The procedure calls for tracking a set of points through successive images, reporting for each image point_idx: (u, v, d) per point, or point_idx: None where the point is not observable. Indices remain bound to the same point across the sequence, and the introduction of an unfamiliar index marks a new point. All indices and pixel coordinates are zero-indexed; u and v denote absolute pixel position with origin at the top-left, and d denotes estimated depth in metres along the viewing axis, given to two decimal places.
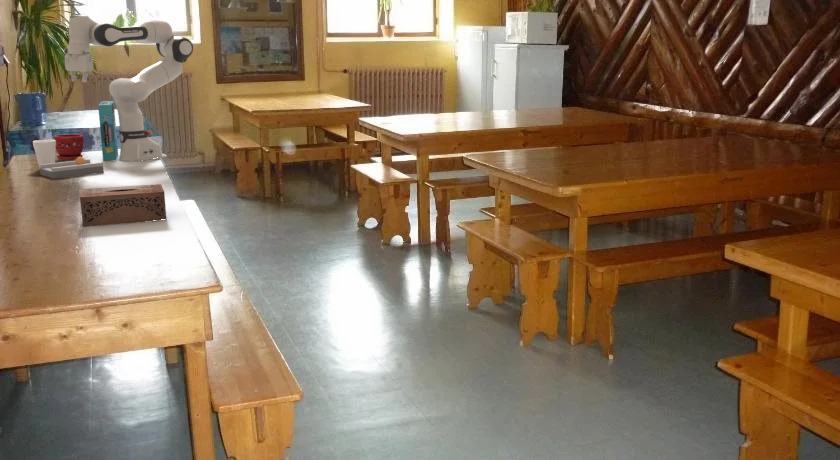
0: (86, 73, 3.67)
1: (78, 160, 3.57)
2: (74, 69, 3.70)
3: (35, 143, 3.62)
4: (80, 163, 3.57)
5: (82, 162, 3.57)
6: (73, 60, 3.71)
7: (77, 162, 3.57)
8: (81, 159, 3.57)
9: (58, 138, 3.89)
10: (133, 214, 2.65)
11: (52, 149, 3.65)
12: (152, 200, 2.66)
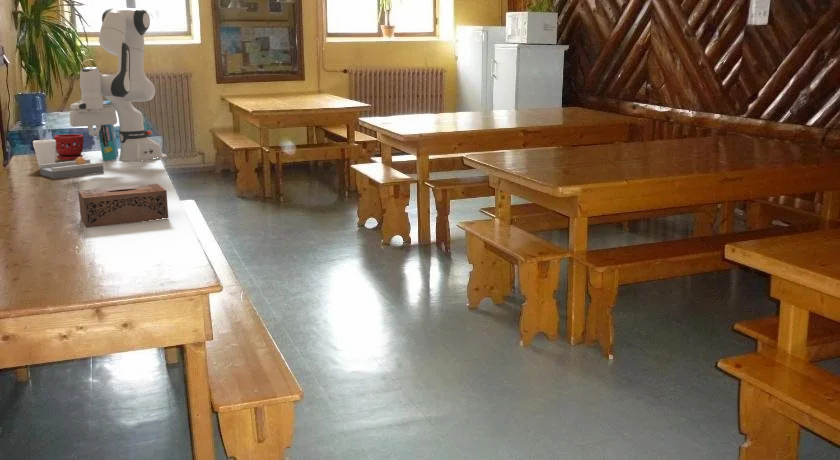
0: None
1: (78, 160, 3.57)
2: (93, 124, 3.58)
3: (35, 143, 3.62)
4: (80, 163, 3.57)
5: (82, 162, 3.57)
6: (89, 115, 3.56)
7: (77, 162, 3.57)
8: (81, 159, 3.57)
9: (58, 138, 3.89)
10: (136, 214, 2.65)
11: (52, 149, 3.65)
12: (155, 199, 2.67)
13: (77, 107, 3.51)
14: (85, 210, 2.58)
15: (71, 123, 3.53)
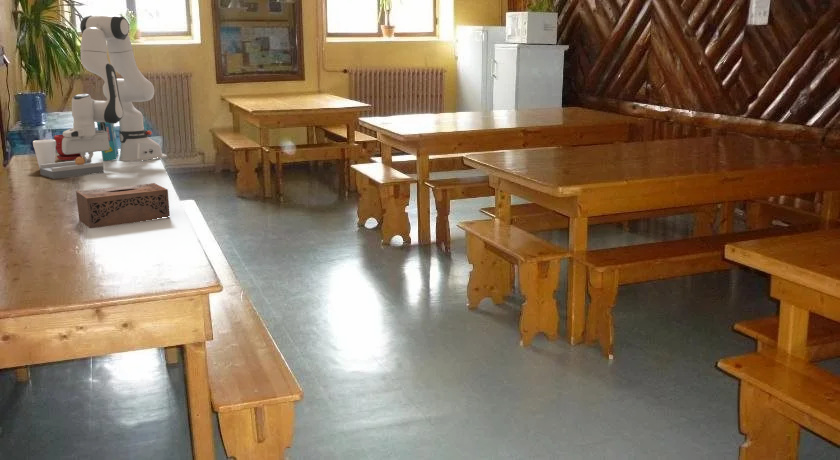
0: None
1: (78, 160, 3.56)
2: (86, 151, 3.58)
3: (35, 143, 3.62)
4: (80, 163, 3.57)
5: (82, 162, 3.57)
6: (81, 142, 3.56)
7: (77, 162, 3.57)
8: (80, 159, 3.57)
9: (58, 138, 3.89)
10: (138, 213, 2.66)
11: (52, 149, 3.65)
12: (156, 198, 2.69)
13: (69, 135, 3.50)
14: (89, 211, 2.57)
15: (63, 151, 3.52)
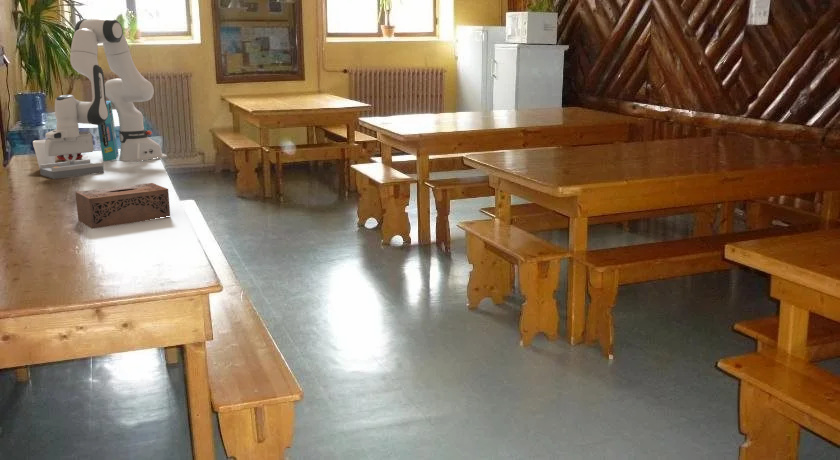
0: None
1: None
2: (69, 152, 3.53)
3: (35, 143, 3.62)
4: None
5: None
6: (65, 143, 3.51)
7: None
8: None
9: None
10: (140, 213, 2.67)
11: None
12: (157, 197, 2.69)
13: (52, 136, 3.45)
14: (91, 211, 2.56)
15: (46, 152, 3.47)
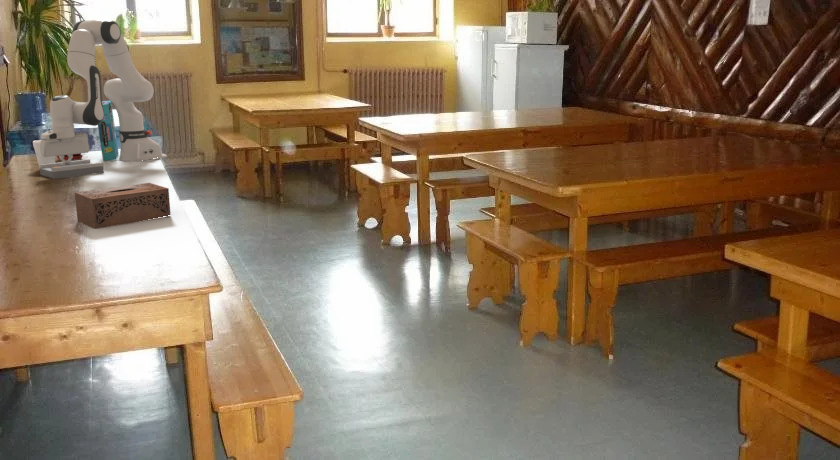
0: None
1: None
2: (65, 153, 3.51)
3: (35, 143, 3.62)
4: None
5: None
6: (60, 144, 3.50)
7: None
8: None
9: None
10: (141, 213, 2.67)
11: None
12: (158, 197, 2.70)
13: (47, 137, 3.44)
14: (94, 211, 2.56)
15: (42, 153, 3.46)
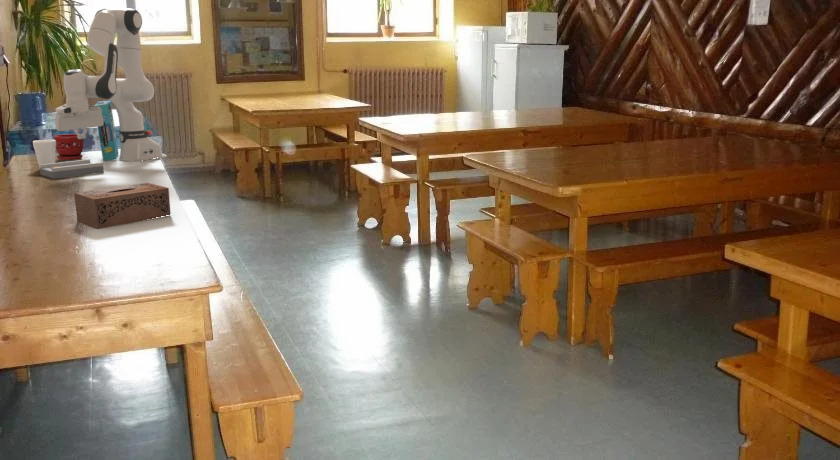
0: None
1: None
2: (80, 127, 3.54)
3: (35, 143, 3.62)
4: None
5: None
6: (75, 118, 3.52)
7: None
8: None
9: (58, 138, 3.89)
10: (142, 212, 2.67)
11: (52, 149, 3.65)
12: (158, 197, 2.71)
13: (62, 111, 3.47)
14: (96, 211, 2.56)
15: (57, 127, 3.49)
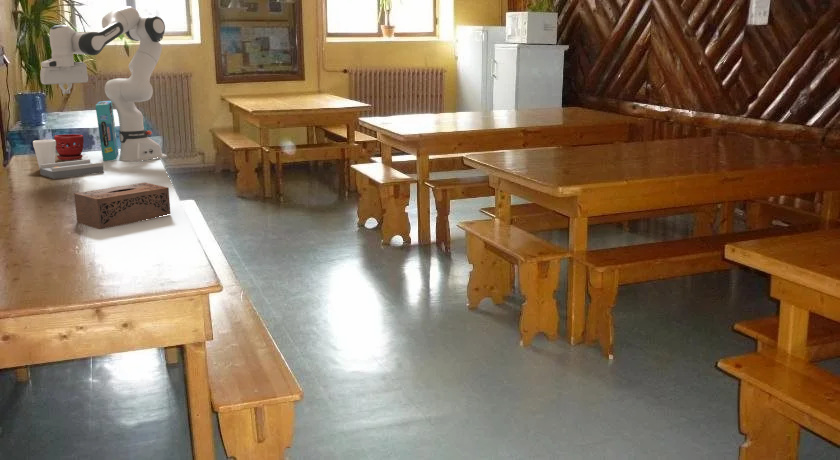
0: None
1: None
2: (64, 81, 3.61)
3: (35, 143, 3.62)
4: None
5: None
6: (60, 72, 3.59)
7: None
8: None
9: (58, 138, 3.89)
10: (143, 212, 2.68)
11: (52, 149, 3.65)
12: (159, 196, 2.72)
13: (47, 65, 3.53)
14: (98, 211, 2.56)
15: (42, 81, 3.55)
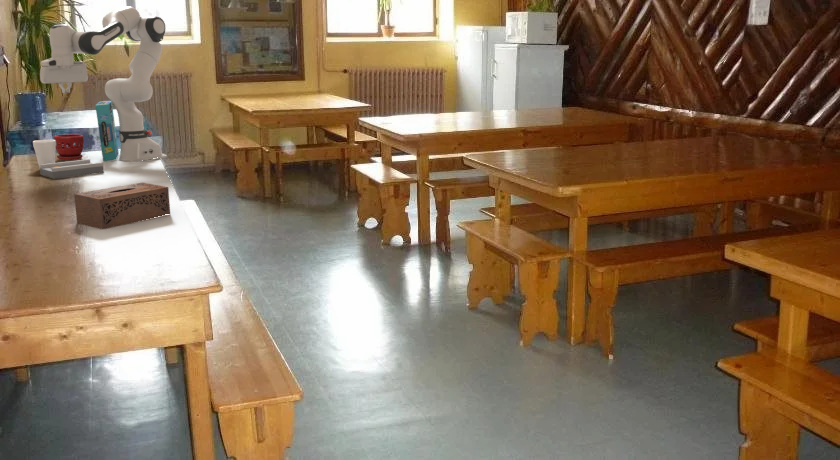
0: None
1: None
2: (64, 81, 3.61)
3: (35, 143, 3.62)
4: None
5: None
6: (59, 71, 3.59)
7: None
8: None
9: (58, 138, 3.89)
10: (144, 212, 2.68)
11: (52, 149, 3.65)
12: (159, 196, 2.72)
13: (47, 64, 3.53)
14: (101, 211, 2.56)
15: (41, 80, 3.55)
